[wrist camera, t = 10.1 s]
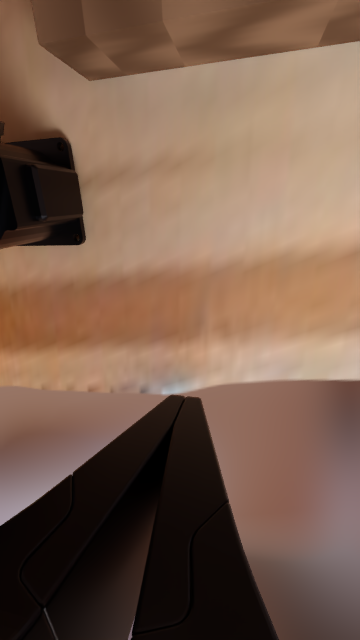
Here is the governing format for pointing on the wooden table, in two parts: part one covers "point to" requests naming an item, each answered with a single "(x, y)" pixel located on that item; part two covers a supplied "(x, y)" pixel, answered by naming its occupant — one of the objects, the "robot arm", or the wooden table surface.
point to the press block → (185, 31)
